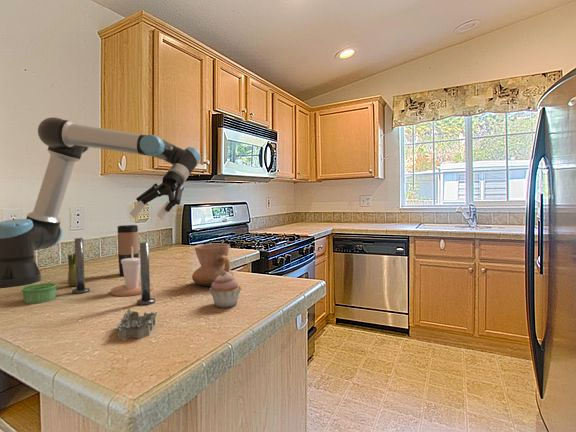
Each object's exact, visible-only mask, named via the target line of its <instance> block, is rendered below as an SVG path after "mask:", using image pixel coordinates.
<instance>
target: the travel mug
mask: <svg viewBox="0 0 576 432" xmlns="http://www.w3.org/2000/svg"><path fill="white" fill-rule="evenodd" d="M138 228H139V227H138V225H136V224H131V225H130V224H128V225H118V226H117V253H118V254H117V256H118V267H119V276H121V277H124V273H123V267H122V263H121V260H122V259H127V258H132V256H131V246H133V258H140V247H139V229H138Z"/></svg>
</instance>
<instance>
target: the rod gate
mask: <svg viewBox="0 0 576 432" xmlns="http://www.w3.org/2000/svg"><path fill="white" fill-rule="evenodd" d="M149 250H150V247H149V242H148V241H143V242H139V258H140V283H141V294H140V296H141V298H140V299H137V300H136V304H137V306H148V305H149V306H150V305H152V304H155V303H156V298H155V297H151V291H150V284H151V283H150V280H151V279H150V275H151V274H150V251H149ZM74 252H75V264H76V286H75V288H74V289H72V290H71V294H72V295H73V294H74V295H80V294H86V293H89V292H90V287H85V286H86V283H85V259H84V258H85V257H84V237H76V238H74Z"/></svg>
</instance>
